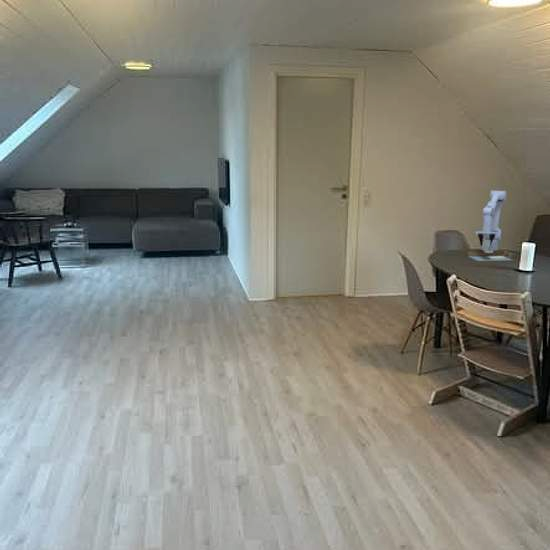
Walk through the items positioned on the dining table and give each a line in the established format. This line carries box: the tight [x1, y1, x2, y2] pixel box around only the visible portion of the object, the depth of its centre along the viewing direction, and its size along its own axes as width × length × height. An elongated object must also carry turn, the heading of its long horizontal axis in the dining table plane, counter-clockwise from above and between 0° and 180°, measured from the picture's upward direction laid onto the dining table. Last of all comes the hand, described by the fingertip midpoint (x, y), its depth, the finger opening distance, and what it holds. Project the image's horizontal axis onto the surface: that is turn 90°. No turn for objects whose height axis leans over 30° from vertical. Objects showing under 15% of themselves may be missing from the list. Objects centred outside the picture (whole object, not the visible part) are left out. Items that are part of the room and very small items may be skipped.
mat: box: [467, 256, 513, 262], centre depth 379 cm, size 16×26×1 cm, turn 96°
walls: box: [467, 249, 517, 261], centre depth 378 cm, size 16×26×4 cm, turn 96°
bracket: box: [480, 238, 493, 253], centre depth 373 cm, size 10×5×6 cm, turn 176°
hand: (485, 245), depth 378 cm, fingers closed on bracket, 5 cm apart
